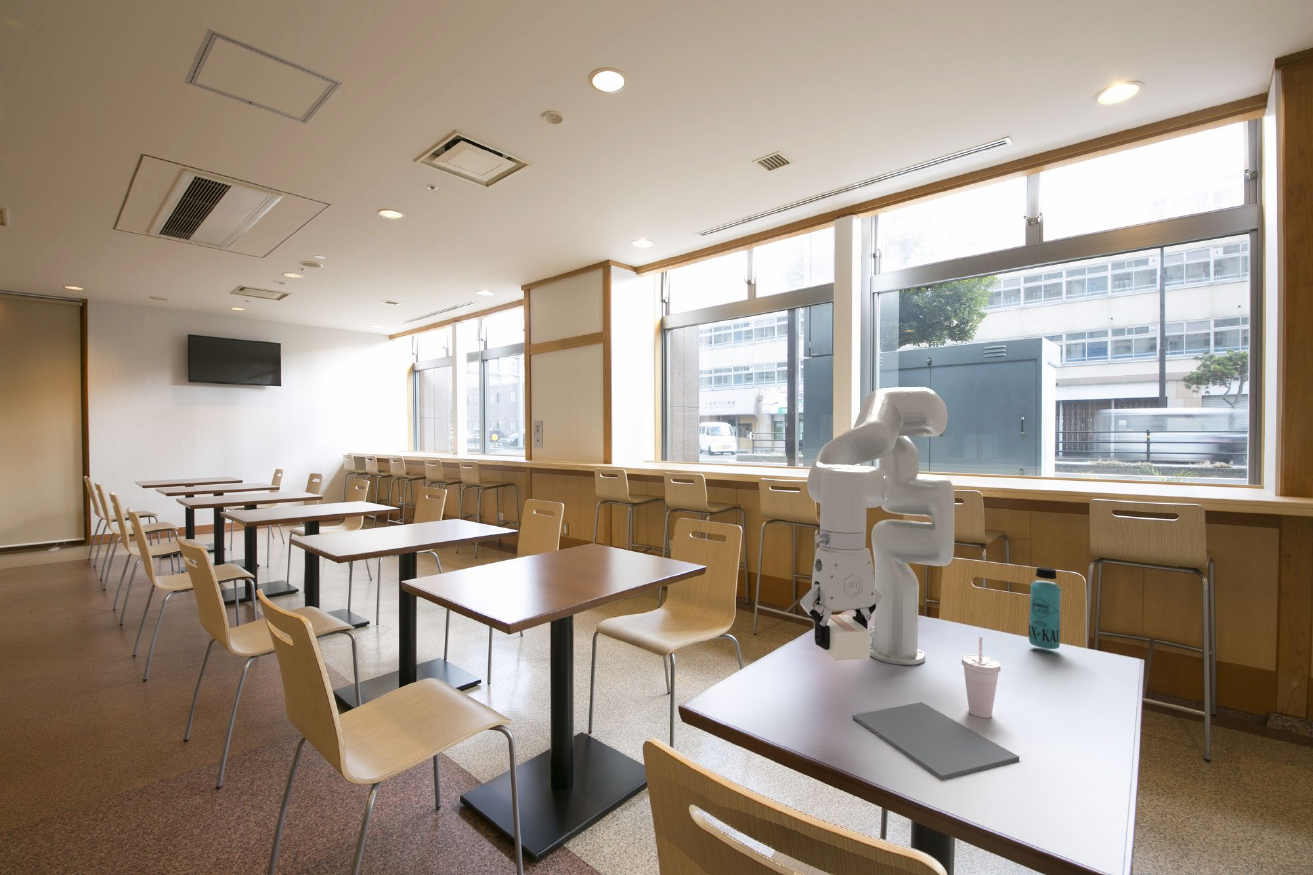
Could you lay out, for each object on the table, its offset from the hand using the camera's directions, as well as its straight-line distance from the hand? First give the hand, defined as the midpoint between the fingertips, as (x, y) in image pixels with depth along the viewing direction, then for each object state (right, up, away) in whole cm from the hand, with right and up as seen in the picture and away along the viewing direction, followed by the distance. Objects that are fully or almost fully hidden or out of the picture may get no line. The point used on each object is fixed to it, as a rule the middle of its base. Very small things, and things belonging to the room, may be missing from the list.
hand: (841, 643), depth 100 cm
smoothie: (+29, -16, +9) cm, 34 cm away
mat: (+15, -16, -1) cm, 22 cm away
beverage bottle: (+62, -17, +41) cm, 76 cm away
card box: (0, -1, 0) cm, 1 cm away
